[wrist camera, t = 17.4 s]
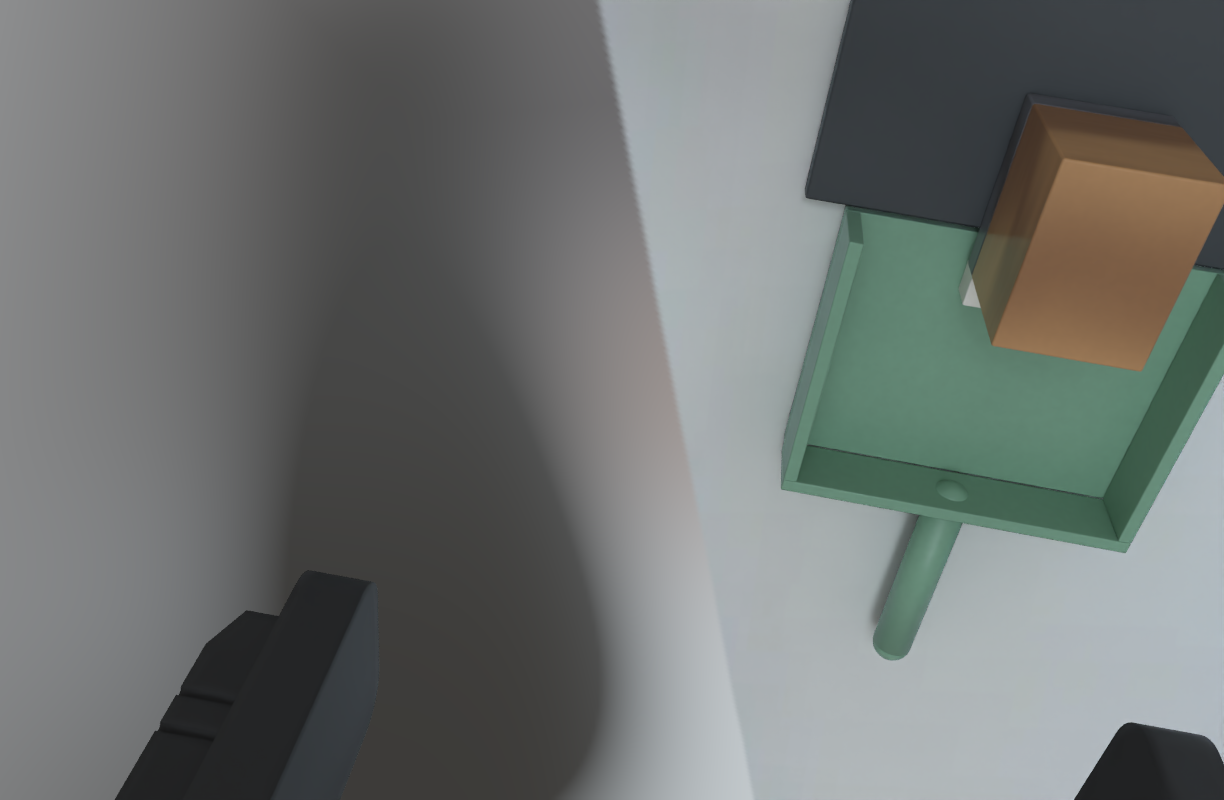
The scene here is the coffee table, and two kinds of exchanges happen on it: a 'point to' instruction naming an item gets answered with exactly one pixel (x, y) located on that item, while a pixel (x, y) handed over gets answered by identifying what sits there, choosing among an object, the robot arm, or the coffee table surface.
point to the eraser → (1092, 231)
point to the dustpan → (980, 409)
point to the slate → (1002, 92)
